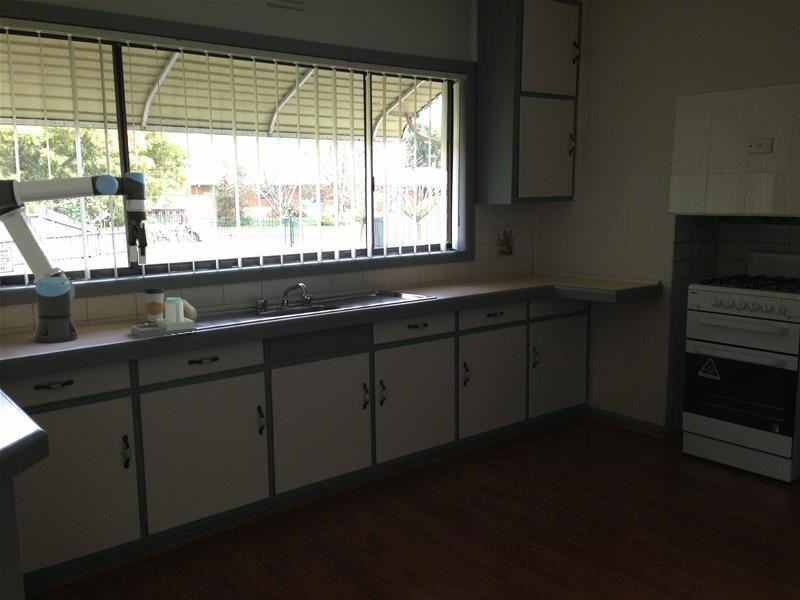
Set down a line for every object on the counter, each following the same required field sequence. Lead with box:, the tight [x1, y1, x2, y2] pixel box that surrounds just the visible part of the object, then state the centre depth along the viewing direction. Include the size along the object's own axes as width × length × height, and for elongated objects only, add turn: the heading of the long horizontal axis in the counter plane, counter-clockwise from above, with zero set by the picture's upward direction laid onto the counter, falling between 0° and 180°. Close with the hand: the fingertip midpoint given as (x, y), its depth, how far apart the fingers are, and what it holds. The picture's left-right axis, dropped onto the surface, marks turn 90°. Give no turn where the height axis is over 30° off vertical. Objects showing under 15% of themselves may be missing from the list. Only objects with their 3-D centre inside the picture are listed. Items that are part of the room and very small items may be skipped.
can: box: [164, 296, 184, 323], centre depth 286 cm, size 7×7×12 cm
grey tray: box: [130, 317, 198, 339], centre depth 284 cm, size 22×14×5 cm, turn 126°
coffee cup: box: [144, 286, 165, 323], centre depth 315 cm, size 8×8×15 cm
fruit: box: [178, 296, 198, 322], centre depth 304 cm, size 10×9×12 cm
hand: (137, 262), depth 290 cm, fingers open, 13 cm apart
